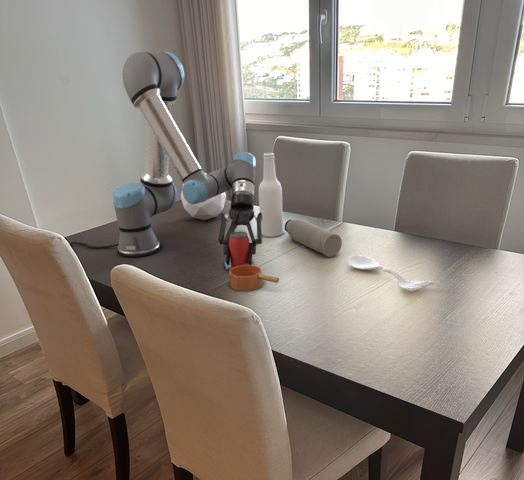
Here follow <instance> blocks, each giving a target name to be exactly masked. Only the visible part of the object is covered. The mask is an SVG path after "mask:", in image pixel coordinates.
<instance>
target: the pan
mask: <svg viewBox="0 0 524 480" xmlns="http://www.w3.org/2000/svg"><path fill="white" fill-rule="evenodd" d="M228 271H229V272H228V275H229V285H230V287H231V288H232V290H236V291H240V292H241V291H242V292H247V291H254V290H257V289H259V288H261V287H263V280H261V279H258V274H263V268H261V266H258V265H255V264H252V265H240V266H236V267H233V268H232V269H231V270H228Z"/></svg>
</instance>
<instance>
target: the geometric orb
mask: <svg viewBox="0 0 524 480" xmlns="http://www.w3.org/2000/svg"><path fill="white" fill-rule="evenodd" d="M204 173H205V172H204ZM206 174H207V173H205V175H206ZM183 185H184V183H182V186H183ZM226 199H227V195H226V192H224V193H222V194H219V195H217V196H215V197H212V198H210V199H208V200H206V201H205V202H201V203H198V204H191V203H189V202H187V201H186V200H185V198H184V196H183V192H182V191H181V194H180V200H181V204H182V206H183V209H184V210H185V211H186V212H187V213H188V214H189V215H190V217H192V218H193V219H194V218H195V219H197V220H201V221H206V220H210V219H213V218H215V217H217V216H218V215H219V214H221V213H222V211H223V210H224V207H225V204H226Z"/></svg>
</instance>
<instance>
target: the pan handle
mask: <svg viewBox="0 0 524 480" xmlns="http://www.w3.org/2000/svg"><path fill="white" fill-rule="evenodd" d="M258 279H261V280H262V281H266V282H270V283H275V284H278V283H279V282H280V278H279V277H276V276H272V275H268V274H263V273H262V274H258Z"/></svg>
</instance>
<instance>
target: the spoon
mask: <svg viewBox="0 0 524 480" xmlns="http://www.w3.org/2000/svg"><path fill="white" fill-rule="evenodd" d="M346 262H347V264H348V265H349V266H350V267H352V268H354V269H357V270H362V271H371V270H381V271H382V272H383V273H389V274H391V275H392V276H393V277H394V278H395V279H396V280H397V282H398V285H399V288H402V289H403V290H406V291H408V292H414V291H419V290H421V289H423V288H427V287H429V286H431V285H432V286H433V285H435V282H434V280H426V281H422V280H411V279H410V280H409V279H406V278H404V277H403V276H401V275H400V274H399V273H398V272H397V271H395V270H393V269H392V268H391V267H389V266H385V265H384V266H383V265H380V263H379V262H377V261H376V260H375V259H373V258H371V257H368V256H366V255H361V254H353V255H350V256H348V257H347V258H346Z"/></svg>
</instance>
